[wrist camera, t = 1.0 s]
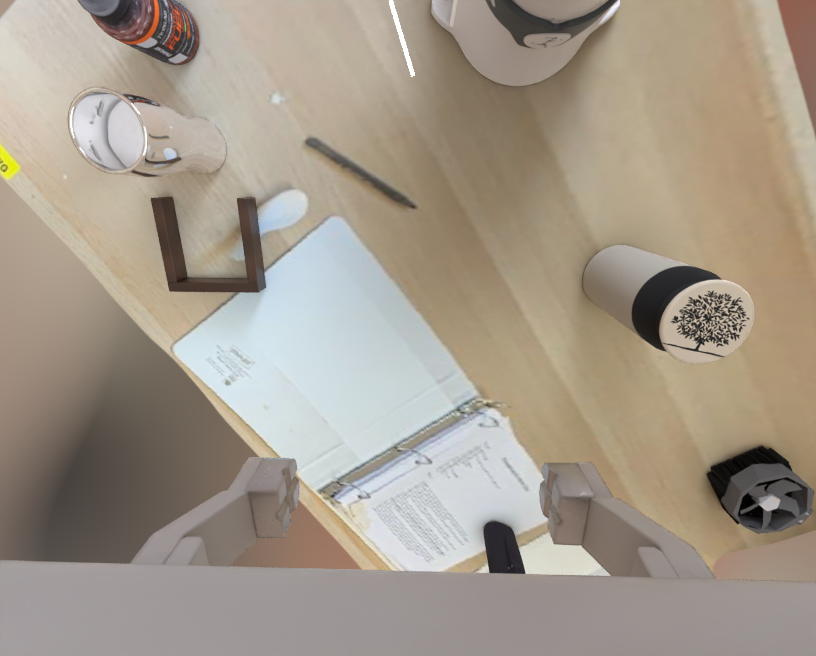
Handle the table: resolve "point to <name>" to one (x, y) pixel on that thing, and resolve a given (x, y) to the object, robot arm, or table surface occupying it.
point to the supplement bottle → (148, 26)
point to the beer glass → (141, 135)
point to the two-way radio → (502, 550)
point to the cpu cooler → (762, 491)
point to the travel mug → (670, 303)
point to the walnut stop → (175, 258)
